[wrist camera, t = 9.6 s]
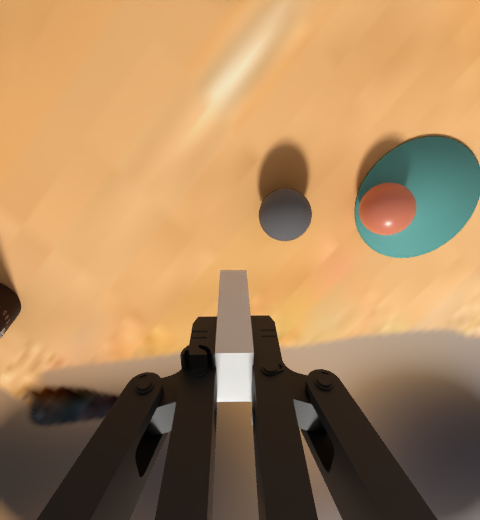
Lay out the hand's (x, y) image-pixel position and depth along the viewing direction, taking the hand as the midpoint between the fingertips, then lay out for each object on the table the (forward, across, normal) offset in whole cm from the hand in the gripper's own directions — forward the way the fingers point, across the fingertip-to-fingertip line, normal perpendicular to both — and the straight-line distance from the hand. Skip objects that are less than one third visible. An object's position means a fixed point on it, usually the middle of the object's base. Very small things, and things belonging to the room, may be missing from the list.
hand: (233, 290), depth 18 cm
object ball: (+16, +16, 0) cm, 23 cm away
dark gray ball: (+16, +6, -1) cm, 17 cm away
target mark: (+18, +21, 0) cm, 28 cm away
